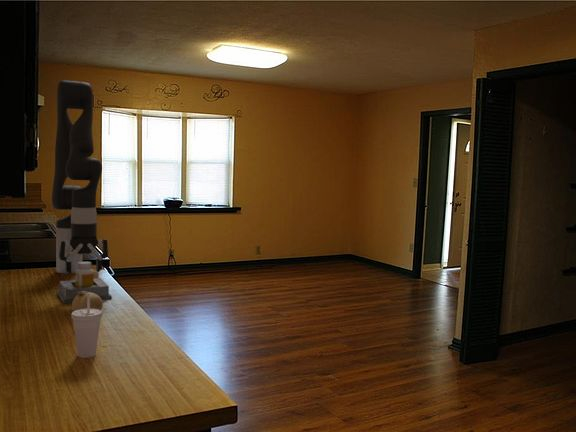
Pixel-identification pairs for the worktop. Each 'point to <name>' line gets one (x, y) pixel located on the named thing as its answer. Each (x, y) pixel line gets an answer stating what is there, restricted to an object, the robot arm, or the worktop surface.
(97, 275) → the brown egg
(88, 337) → the smoothie
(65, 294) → the collar socket
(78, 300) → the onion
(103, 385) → the worktop surface
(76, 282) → the supplement bottle
